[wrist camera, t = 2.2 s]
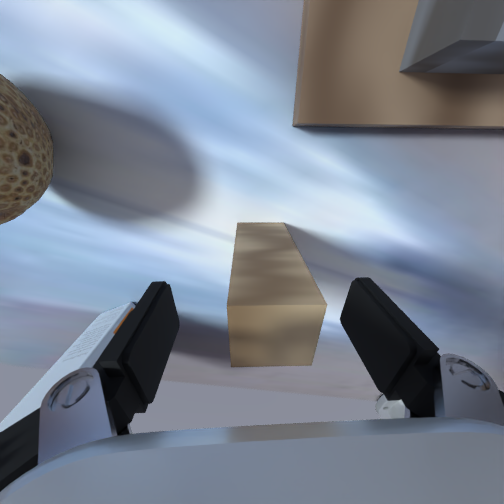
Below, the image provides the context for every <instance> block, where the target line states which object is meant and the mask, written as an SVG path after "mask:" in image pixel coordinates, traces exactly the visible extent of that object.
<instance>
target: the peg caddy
mask: <svg viewBox="0 0 504 504" xmlns="http://www.w3.org/2000/svg"><path fill="white" fill-rule="evenodd" d="M293 126H320V127H390V128H460V129H504V0H304V5H303V16H302V27H301V38H300V49H299V60H298V71H297V82H296V93H295V104H294V115H293Z"/></svg>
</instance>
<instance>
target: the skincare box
mask: <svg viewBox="0 0 504 504" xmlns="http://www.w3.org/2000/svg"><path fill="white" fill-rule="evenodd" d="M135 307H136V306H135V305H134V304H133V303H132V302H129V303H127V304H124V305H122V306H119V307H117V308H114V309H111V310H108V311H106V312H103V313H101V314H100V315H99V316H98V317H97V318H96V319H95V320H94V321H93V322H92V324H91V325H90V326H89V327H88V328H87V329H86V330H85V331H84V332H83V333H82V335H81V336H80V337H79V338H78V339H77V340H76V341H75V342H74V343H73V344H72V345H71V347H70V348H69V349H68V350H67V351H66V352H65V353H64V354H63V355H62V356H61V358H60V359H59V360H58V361H57V362H56V363H55V364H54V365H53V366H52V367H51V369H50V370H49V371H48V372H47V373H46V374H45V375H44V376H43V377H42V378H41V379H40V381H39V382H38V383H37V384H36V385H35V386H34V387H33V388H32V389H31V390H30V391H29V393H28V394H27V395H26V396H25V397H24V398H23V399H22V400H21V401H20V402H19V404H18V405H17V406H16V407H15V408H14V409H13V410H12V411H11V412H10V413H9V414H8V416H7V417H6V418H5V419H4V420H3V421H2V422H1V423H0V432H2V431H3V430H5V429H6V428H8V427H9V426H11V425H13V424H14V423H16V422H17V421H19V420H21V419H22V418H24V417H25V416H27V415H29V414H30V413H32V412H33V411H35V410H37V409H38V408H40V407H41V403H42V400H43V398H44V397H45V395H46V393H47V392H48V391H49V390H50V389H51V387H52V386H53V385H54V384H55V383H57V382H58V381H59V380H60V379H61V378H63V377H64V376H66V375H67V374H69V373H71V372H73V371H75V370H78V369H81V368H85V367H90V368H92V367H93V365H94V364H95V362H96V361H97V360H98V358H99V357H100V355H101V354H102V352H103V351H104V349H105V348H106V346H107V345H108V343H109V342H110V340H111V339H112V338H113V336H114V335H115V333H116V332H117V330H118V329H119V327H120V326H121V324H122V323H123V321H124V320H125V319H126V317H127V316H128V314H129V313H130V312H131V311H132V310H133V309H134V308H135Z"/></svg>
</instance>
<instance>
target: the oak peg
mask: <svg viewBox="0 0 504 504" xmlns="http://www.w3.org/2000/svg"><path fill="white" fill-rule="evenodd" d="M326 307H327V303H326V302H325V300H324V298H323V296H322V294H321V292H320V290H319V288H318V286H317V285H316V283H315V281H314V279H313V277H312V275H311V273H310V271H309V269H308V268H307V266H306V264H305V262H304V260H303V258H302V256H301V254H300V252H299V251H298V249H297V247H296V245H295V243H294V241H293V239H292V237H291V235H290V234H289V232H288V230H287V228H286V226H285V224H284V223H237V230H236V238H235V245H234V253H233V261H232V269H231V277H230V285H229V293H228V300H227V316H228V330H229V344H230V359H231V367H263V366H311V365H312V362H313V358H314V354H315V350H316V347H317V343H318V339H319V335H320V331H321V327H322V323H323V319H324V315H325V311H326Z"/></svg>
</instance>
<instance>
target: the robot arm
mask: <svg viewBox="0 0 504 504" xmlns="http://www.w3.org/2000/svg"><path fill="white" fill-rule="evenodd" d="M340 321H341V324H342V326H343V328H344V329H345V331H346V333H347V335H348V337H349V338H350V340H351V342H352V344H353V346H354V347H355V349H356V351H357V353H358V354H359V356H360V358H361V360H362V362H363V363H364V365H365V367H366V369H367V371H368V372H369V374H370V376H371V378H372V379H373V381H374V383H375V385H376V387H377V388H378V390H379V391H380V392H382V393H383V395H382V396H381V397H380V398H379V400H378V401H377V403H376V411H377V413H378V415H379V417H380V419H375V420H353V421H332V422H313V423H293V424H275V425H256V426H238V427H222V428H204V429H187V430H174V431H161V432H150V433H136V434H132V430H131V427H130V422H131V421H132V419H133V416H134V414H135V413H145V412H146V409H147V406H148V404H150V403H152V402H153V400H154V398H155V394H156V392H157V389H158V386H159V383H160V381H161V378H162V375H163V372H164V369H165V366H166V363H167V361H168V358H169V355H170V352H171V349H172V346H173V344H174V341H175V338H176V335H177V332H178V329H179V319H178V315H177V311H176V307H175V303H174V299H173V295H172V291H171V287H170V285H169V284H167V283H166V282H165V281H159V282H152V283H151V284H150V286H149V287H148V289H147V290H146V292H145V293H144V295H143V296H142V298H141V299H140V301H139V302H138V304H137V305H136V307H135V308H134V309H133V310H132V311H131V312H130V313H129V314H128V316H127V317H126V319H125V320H124V321H123V323H122V324H121V326H120V327H119V329H118V330H117V332H116V333H115V335H114V336H113V338H112V339H111V340H110V342H109V343H108V345H107V346H106V348H105V349H104V351H103V352H102V354H101V355H100V357H99V358H98V360H97V361H96V362H95V364H94V365H93V367H92V368H90V367H85V368H81V369H78V370H75V371H73V372H71V373H69V374H67V375H66V376H64V377H63V378H61V379H60V380H59V381H58V382H57V383H55V384H54V385H53V386H52V387H51V389H50V390H49V391H48V392H47V393H46V395H45V397H44V398H43V400H42V403H41V407H40V408H38V409H37V410H35V411H33V412H32V413H30V414H29V415H27V416H25V417H24V418H22V419H21V420H19V421H17V422H16V423H14V424H13V425H11V426H9V427H8V428H6V429H5V430H3V431H2V432H0V504H504V392H502V391H500V390H498V388H497V385H496V384H495V382H494V380H493V379H492V378H491V377H490V376H489V374H488V373H487V372H485V371H484V370H483V369H482V368H481V367H479V366H478V365H476V364H475V363H473V362H472V361H470V360H468V359H466V358H464V357H461V356H458V355H455V354H443V355H442V356H440V355H439V354H438V353H437V351H438V350H439V348H438V347H437V346H436V345H435V344H434V343H433V342H432V341H431V340H430V339H429V338H428V337H427V336H426V335H425V334H424V333H423V332H422V331H421V330H420V329H419V328H418V327H417V326H416V325H415V324H414V323H413V322H412V321H411V320H410V318H409V317H408V316H407V315H406V314H405V313H404V312H403V311H402V310H401V309H400V308H399V307H398V306H397V305H396V304H395V303H394V302H393V301H392V300H391V299H390V298H389V297H388V296H387V295H386V294H385V293H384V292H383V291H382V290H381V289H380V288H379V287H378V286H377V285H376V284H375V283H374V282H373V281H372V280H371V279H370V278H368V277H367V278H356V279H355V280H354V281H352V283H351V286H350V289H349V292H348V295H347V298H346V301H345V304H344V307H343V310H342V313H341V317H340Z"/></svg>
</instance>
